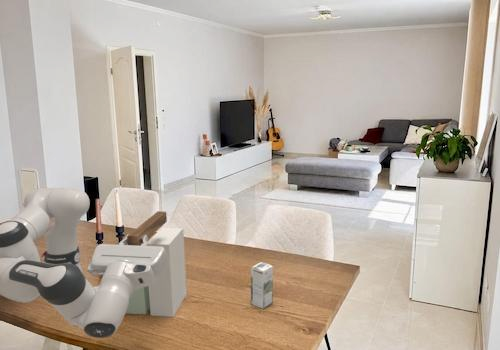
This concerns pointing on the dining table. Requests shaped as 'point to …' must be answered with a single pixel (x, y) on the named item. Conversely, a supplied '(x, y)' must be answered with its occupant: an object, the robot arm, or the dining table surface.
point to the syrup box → (262, 285)
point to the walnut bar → (147, 228)
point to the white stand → (169, 273)
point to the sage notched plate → (139, 301)
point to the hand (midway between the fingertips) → (137, 235)
